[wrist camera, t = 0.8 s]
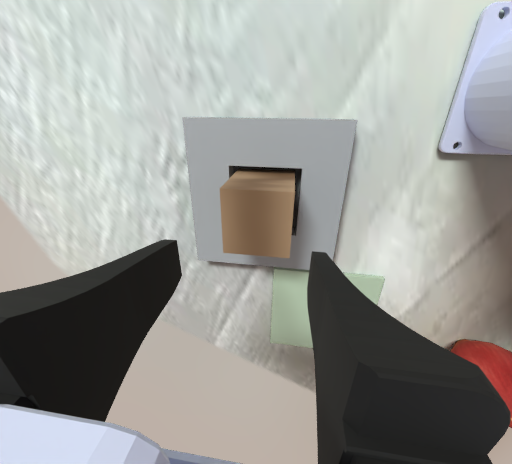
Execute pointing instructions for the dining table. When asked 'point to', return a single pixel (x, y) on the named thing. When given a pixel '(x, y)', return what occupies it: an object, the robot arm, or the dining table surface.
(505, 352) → the onion
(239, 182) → the walnut block
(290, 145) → the pocket board
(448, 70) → the dining table surface
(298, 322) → the felt mat
